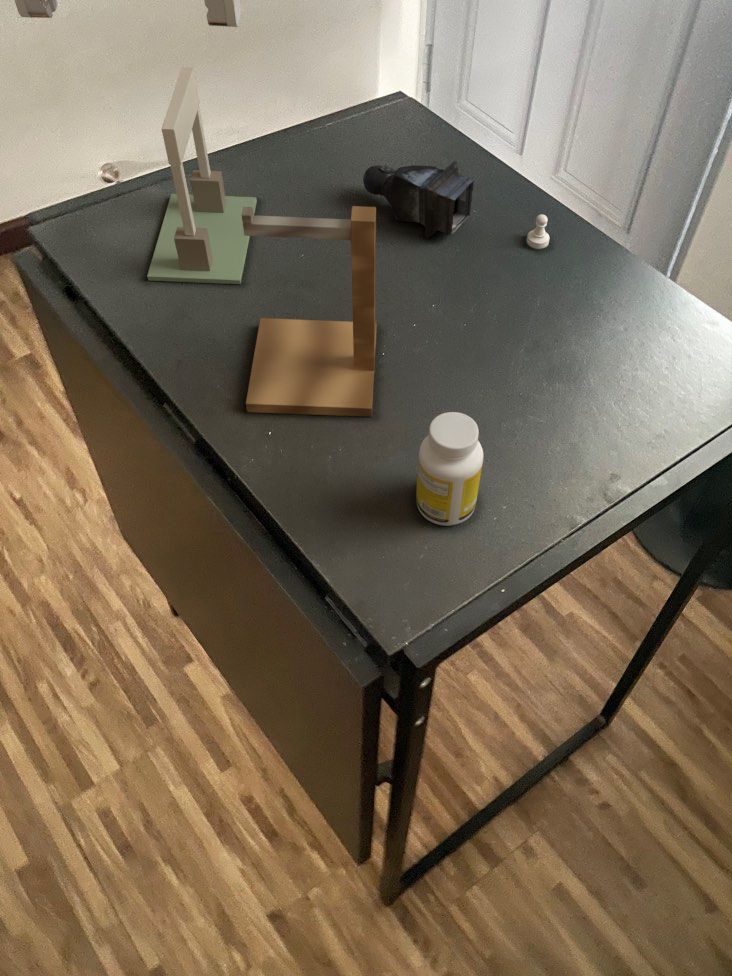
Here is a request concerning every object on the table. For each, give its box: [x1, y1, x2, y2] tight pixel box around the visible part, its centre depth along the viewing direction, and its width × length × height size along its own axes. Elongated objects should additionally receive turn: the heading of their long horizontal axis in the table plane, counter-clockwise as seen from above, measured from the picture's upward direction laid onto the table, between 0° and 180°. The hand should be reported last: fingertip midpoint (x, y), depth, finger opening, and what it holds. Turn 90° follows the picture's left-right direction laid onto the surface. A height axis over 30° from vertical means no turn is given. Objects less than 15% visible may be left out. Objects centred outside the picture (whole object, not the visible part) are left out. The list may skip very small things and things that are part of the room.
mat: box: [146, 193, 258, 285], centre depth 94 cm, size 10×15×1 cm, turn 179°
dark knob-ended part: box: [362, 160, 475, 239], centre depth 96 cm, size 6×13×6 cm, turn 60°
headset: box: [161, 66, 226, 271], centre depth 87 cm, size 3×12×16 cm, turn 179°
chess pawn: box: [526, 213, 550, 250], centre depth 95 cm, size 3×3×4 cm
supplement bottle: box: [415, 411, 484, 527], centre depth 71 cm, size 5×5×10 cm
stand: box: [242, 205, 378, 418], centre depth 76 cm, size 12×12×18 cm
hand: (132, 17), depth 43 cm, fingers open, 8 cm apart
